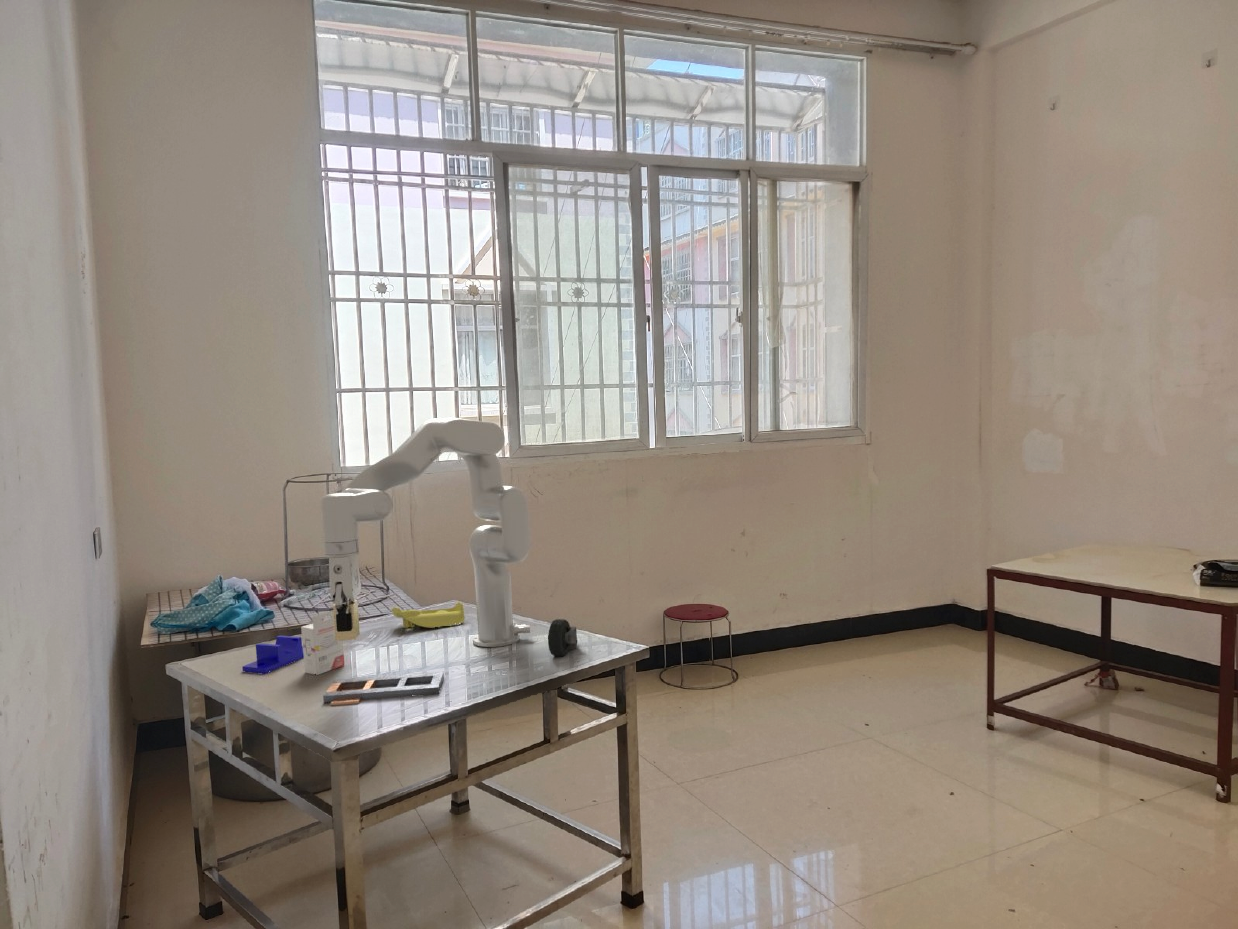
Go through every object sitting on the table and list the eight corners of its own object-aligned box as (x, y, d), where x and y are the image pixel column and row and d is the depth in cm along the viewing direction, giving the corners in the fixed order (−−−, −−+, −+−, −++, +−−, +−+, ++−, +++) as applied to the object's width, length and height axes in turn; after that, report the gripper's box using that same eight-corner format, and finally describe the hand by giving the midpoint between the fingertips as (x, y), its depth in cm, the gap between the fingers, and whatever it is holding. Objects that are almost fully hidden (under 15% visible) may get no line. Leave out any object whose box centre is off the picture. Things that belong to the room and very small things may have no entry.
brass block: (359, 634, 192) (357, 599, 191) (355, 639, 187) (353, 604, 187) (340, 635, 191) (337, 601, 191) (335, 640, 187) (333, 605, 186)
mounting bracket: (294, 652, 227) (292, 630, 226) (315, 654, 224) (314, 632, 224) (242, 673, 210) (241, 650, 210) (265, 675, 207) (263, 652, 207)
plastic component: (454, 608, 257) (463, 600, 249) (457, 632, 254) (465, 624, 246) (388, 613, 248) (395, 605, 240) (390, 638, 245) (397, 630, 237)
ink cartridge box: (332, 663, 214) (328, 606, 213) (345, 665, 212) (341, 608, 210) (303, 673, 207) (299, 614, 206) (316, 675, 204) (312, 616, 203)
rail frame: (444, 678, 198) (443, 671, 198) (437, 697, 185) (437, 690, 185) (335, 686, 195) (335, 679, 195) (321, 706, 183) (320, 699, 182)
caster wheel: (565, 664, 207) (584, 641, 222) (562, 627, 206) (581, 606, 220) (544, 663, 209) (564, 640, 223) (541, 626, 207) (561, 605, 222)
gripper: (350, 553, 180) (356, 637, 181) (366, 541, 197) (371, 617, 198) (314, 555, 179) (320, 639, 180) (333, 543, 196) (338, 619, 197)
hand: (347, 627), depth 189 cm, fingers closed on brass block, 4 cm apart
